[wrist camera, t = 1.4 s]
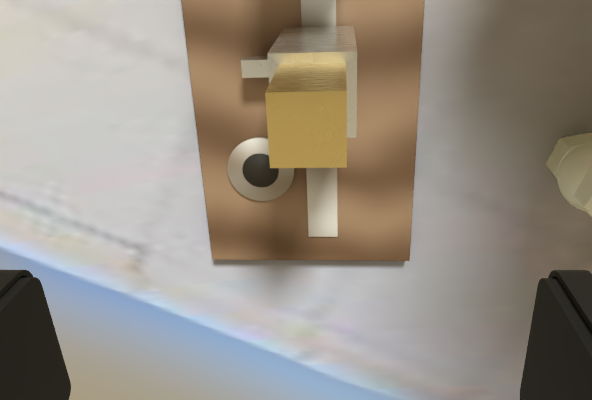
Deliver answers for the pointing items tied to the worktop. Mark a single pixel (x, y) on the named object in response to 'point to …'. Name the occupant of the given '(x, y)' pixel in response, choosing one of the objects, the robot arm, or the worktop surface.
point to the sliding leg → (309, 95)
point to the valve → (574, 169)
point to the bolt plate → (306, 181)
